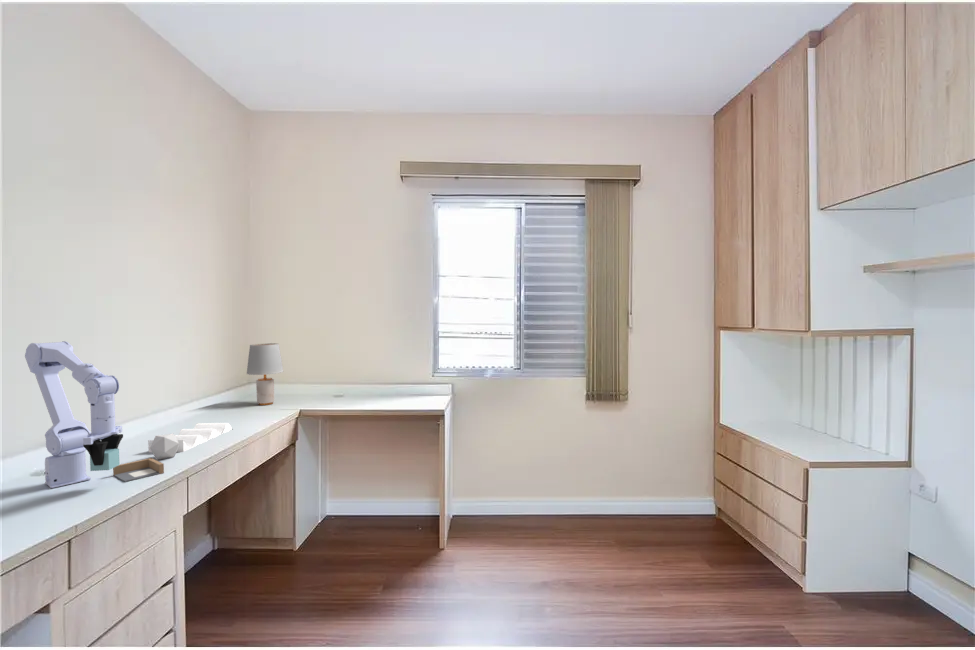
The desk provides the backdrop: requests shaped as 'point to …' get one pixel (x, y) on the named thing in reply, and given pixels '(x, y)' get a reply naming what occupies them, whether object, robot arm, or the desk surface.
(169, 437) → the die
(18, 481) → the desk surface
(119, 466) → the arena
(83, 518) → the desk surface
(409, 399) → the desk surface
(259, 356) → the lamp
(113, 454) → the cube
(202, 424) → the file organizer
